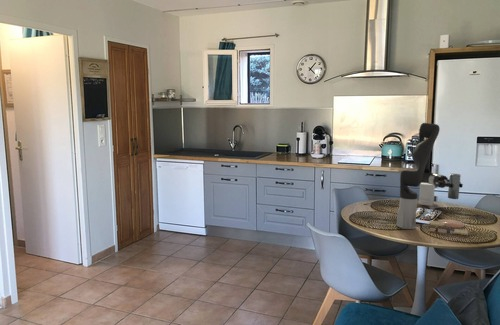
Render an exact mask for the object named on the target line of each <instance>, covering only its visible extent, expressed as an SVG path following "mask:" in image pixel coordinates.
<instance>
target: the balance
mask: <svg viewBox="0 0 500 325" xmlns="http://www.w3.org/2000/svg"><path fill="white" fill-rule="evenodd" d="M443 224H444V222H439V221H437V220H430V224H429V225H431V226H434V227H430V228H429V230H428V231H429V233H433V234H441V235H446V236H447V235H448V236H453V237H454V236H455V237H462V238H468V237H469V236H468V234H469V232H468V230H465V229H460V228H449V227H445V226H443ZM439 227H440V228H439Z"/></svg>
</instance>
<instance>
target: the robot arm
mask: <svg viewBox="0 0 500 325" xmlns="http://www.w3.org/2000/svg"><path fill="white" fill-rule="evenodd" d="M440 130H441V128H440V125H439V124H436V123H429V122H422V123H421V124H420V126H419V129H418V143H417V145H416V146H415V147H414V150H413V152H412V155H411V158H412V161H413V163H414V164H415V166H416V169H415V170H414V169H405V168H404V169H402V170H401V172H400V178H399V180H400V183H399V205H398V207H399V208H398V209H397V212H396V213H397V214H396V226H397V227H398V228H400V229H404V230H414V229H416V220H417V210H418V209H417V207H418V206H417V205H418V193H417V192H416V191H413V190H411V189H410V188H409V187H414V188H417V187H420V184H421V183H429V184H432V185H434V186H435V187H437V188H441V189H442V188H449V187H450V188H453V184H451V183H449V177H447V176H446V175H443V174H439V173H433V172H431V168H430V167H431V166H430V163H431V153H432V150H433V147H434V146H435V145H434V144H435V142H436V141H437V138H438V136H439V134H440ZM459 188H460V189H461V188H463V183H461V181H460V187H459Z"/></svg>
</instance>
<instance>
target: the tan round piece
mask: <svg viewBox="0 0 500 325" xmlns="http://www.w3.org/2000/svg"><path fill="white" fill-rule="evenodd" d="M438 221H439V222H444V224H443V226H445V227H449V228H450V229H463V228H465V223H464V222H462V221H459V220H455V219H443V218H442V219H439V220H438Z"/></svg>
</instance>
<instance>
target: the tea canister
mask: <svg viewBox="0 0 500 325" xmlns="http://www.w3.org/2000/svg"><path fill="white" fill-rule="evenodd" d="M448 179H449V183H451V184H453V188H450V187H448V192H447V198H448V199H452V200H459V196H460V188H461V187H460V182H461V174H460V173H449V177H448Z"/></svg>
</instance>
